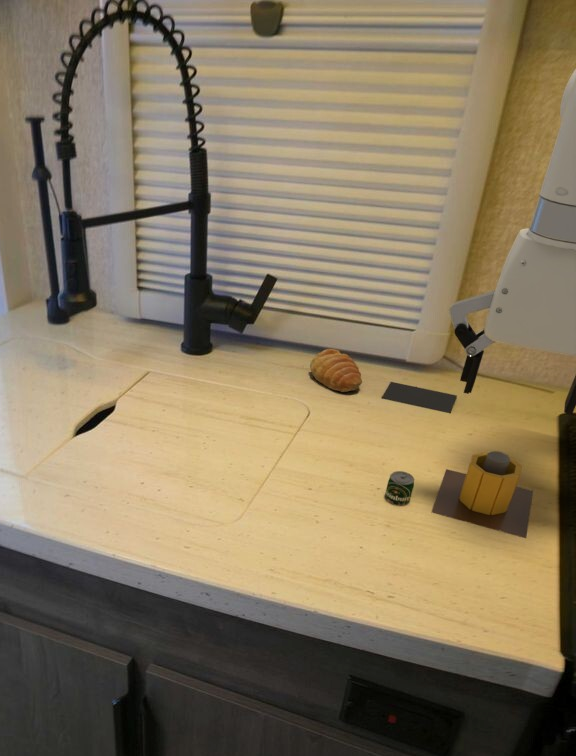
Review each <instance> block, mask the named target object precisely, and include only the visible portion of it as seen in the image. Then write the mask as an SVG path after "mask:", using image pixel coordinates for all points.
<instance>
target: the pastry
mask: <svg viewBox="0 0 576 756" xmlns="http://www.w3.org/2000/svg"><path fill="white" fill-rule="evenodd" d="M309 368H310V372H311V375H312V376H313V377H314V378H315V380H316V381H318V382H319V383H321V384H322V385H323V386H324V387H327V388H328V389H331V390H332V391H338V392H340V393H347V392H350V391H351V392H352V391H355V390H358V389H359V387H360V386H361V385H362V383H363V379H362V373H361V371H360V369H359V366H358V365H357V363H356V362H355V360H354V359H353V358H351V357H350V355H348V354H346V353H341V352H340V350H338V349H335V348H326V349H323V350H322V351H321V352H318V353H317V354H316V355H315V356H314V357H313V358H312V359H311V361H310V363H309Z"/></svg>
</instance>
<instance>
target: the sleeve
mask: <svg viewBox="0 0 576 756" xmlns="http://www.w3.org/2000/svg"><path fill="white" fill-rule="evenodd" d="M489 452H490V451H483V452H479V453H475V454H472V455H471V458H470V462H469V465H468V469H467V471H466V474H467V475H466V478H465V481H464V484H463V487H462V490H461V494H460V497H459V499H460V501H461V502H462V503H463V504H464V505H465V506H467V507H468V508H469V509H472V511H475V512H479V513H483V514H487V515H490V514H491V515H495V514H500V513H504V512H506V511H507V509H508V506H509V504H510V501H511V498H512V496H513V493H514V490H515V488H516V486H517V485H518V482H519V481H520V477H521V472H522V464H520V463H519V462H517V461H516V460H514V459H513V458H512V457H510V462H509V465H508V467H507V470H506V473H505V475H503V476H501V475H497V474H493V473H489V472H485V471H484V470H483V469H482V468H483V465H484V462H485V459H486V456H487V454H488V453H489Z"/></svg>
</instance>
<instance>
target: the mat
mask: <svg viewBox="0 0 576 756" xmlns="http://www.w3.org/2000/svg"><path fill="white" fill-rule="evenodd" d="M457 398H458V395H457V394H453V393H448V392H444V391H443V392H442V391H438V390H433V389H429V388H423V387H418V386H414V385H409V384H404V383H400V382H395V381H390V382H389V384H388V386H387V387H386V389H385V391H384V392H383V394H382V396H381V400H385V401H386V400H387V401H392V402H395V403H400V404H405V405H410V406H414V407H419V408H423V409H426V410H427V409H428V410H433V411H436V412H437V411H438V412H442V413H447V414H451V413H452V411H453V408H454V405H455V403H456V401H457Z"/></svg>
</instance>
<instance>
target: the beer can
mask: <svg viewBox="0 0 576 756" xmlns="http://www.w3.org/2000/svg"><path fill="white" fill-rule="evenodd" d="M414 486H415V477H414V476H413V475H412V474H411V473H409V472H406V471H403V470H401V471H400V470H398V471H397V470H396V471H393V472H392V473H391V474H390V475H389V479H388V481H387V484H386V489H385V493H384V500H385V501H387V502H388V503H389V504H391V505H394V506H400V507H402V506H407V505H408V504H409V503H410V501H411V498H412V494H413V490H414V488H415V487H414Z"/></svg>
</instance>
